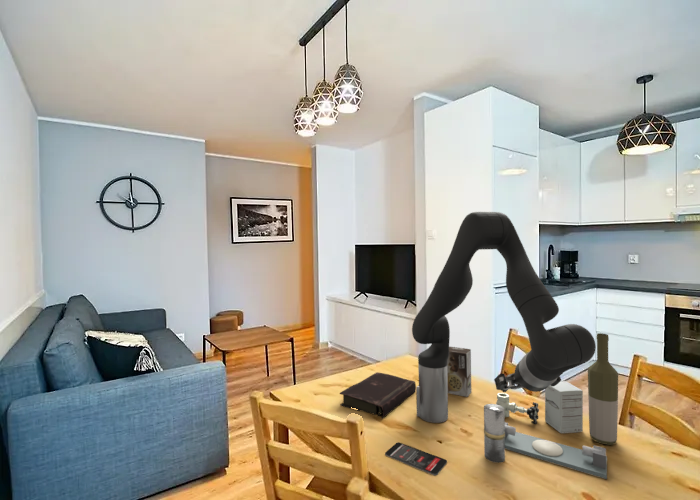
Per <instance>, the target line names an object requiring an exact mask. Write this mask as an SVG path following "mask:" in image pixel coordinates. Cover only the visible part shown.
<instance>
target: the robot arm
mask: <svg viewBox="0 0 700 500" xmlns="http://www.w3.org/2000/svg"><path fill="white" fill-rule="evenodd" d="M479 250H481V251H482V250H496V251H498V253H499V254H500V255H501V256H502V257H503V259H504V261H505V265H506V273H505V286H506V290H507V294H508V295H509V297H510V300H511V301H512V303H513V305H514V306H515V308H516V309H517V311H518V313H519V314H520V316H521V318H522V321H523V323H524V326H525V330H526V332H527V336H528V340H529V343H530V344H529V345H530V350H529V351H528V352H526V354H525V355H524V356H523V357H521V359H520V360H519V362H518V363H517V364H516V365H515V368H514V369H515V370H514V372H513V373H509V374H508V375H505V373H499V374H498V375H497V376H496V377H495V378H494V379H493V381H494V384H495V389H496V390H497V391H501V392H502V393H506V392H507V391H508V390H518V389H526V390H528V391H530V392H534V393H536V392H537V393H538V392H543V391H545V389H546V388H547V387H548V386H550V385H551V386H556V385H557V384H558V383H559V382H560V381H562V379H561V376H562V375H563V374H564V373H565V372H567V371H569V370H571V369H574V368H577V367H579V366H582V365H583V364H586V363H588V362H589V361H590V360H592V358H593V357H594V355H595V353H596V350H597V344H596V339H594V336H593V335H592V333H591V332H590V331H589V329H587V328H586V327H584V326H582V325H580V324H575V323H570V324H569V323H568V324H564V325H560V326H556V327H551V328H548V329H547V328H546V327H545V325H544V324H546V323H548V322H550V321H551V320H553V319H555V317H557V315H558V314H559V310H560V309H559V305H558V303H557V302H556V300H555V299H554V297H553V296H552V295H551V293H550V292H549V290H548V289H547V288H546V285H544V283H543V282H542V280H541V279H540V277H539V275H538V274H537V272H536V270H535V269H534V267H533V265H532V263H531V261H530V259H529V256H528V255H527V251H526V250H525V247H524V245H523V243H522V240H521V239H520V237H519V234H518V232H517V229H516V228H515V226H514V224H513V222H512V220H511V219H510V218H509V216H508V215H507V214H505V213H503V212H500V211H474V212H473V211H472V212H470V213H468V214H467V215H466V216H465V217H464V219H463V220H462V222H461V224H460V226H459V229H458V232H457V234H456V236H455V240H454V243H453V246H452V248H451V251H450V254H449V256H448V257H447V260H446V263H445V264H444V265H443V268H442V269H441V272H440V274H439V276H438V278H437V279H436V281H435V283H434V285H433V288H432V290H431V292H430V294H429V295H428V298H427V299H426V301H425V303H424V304H423V306H422V307H421V308H420V310H419V311H418V313H417V314H416V316H415V317H414V320H413V321H412V322H413V323H412V328H411V334H412V338H413V339H414V341H415V342H417V343H418V344H421V345H429V346H428V348H426V349H425V350H422V351H421V352H420V353H419V354H418V355H417V356H418V357H417V360H418V361H417V363H418V365H417V366H418V371H417V372H418V385H416V391H415V396H416V397H415V398H416V400H415V402H416V403H415V404H416V417H419V418H420V419H422V420H423V421H424V422H427V423H433V424H439V423H444V422H446V421H447V420H448V419H449V393H448V373H447V360H448V357H449V347H450V336H451V335H450V333H451V331H450V323H449V321H448V318H447V317H446V315H448V314H449V313H451V312H453V311H454V310H455V309H458V307H460V306H461V305H462V304H463V303H464V301H465V300H466V298H467V296H468V295H469V293H470V291H471V289H472V286H473V281H474V279H473V274H472V270H471V268H470V267H471V266H470V262H471V261H472V260H473V257H474V255H475V254H476V252H477V251H479Z"/></svg>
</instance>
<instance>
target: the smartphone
mask: <svg viewBox="0 0 700 500" xmlns="http://www.w3.org/2000/svg"><path fill="white" fill-rule="evenodd" d="M384 455H385V456H386V457H387V458H391V459H393V460H395V461H398V462H400V463H403V464H404V465H407V466H409V467H412V468H415V469H417V470H420V471H422V472H424V473H427V474H429V475H431V476H433V477H434V476H438V475H439V473H441V472H442V470H443V469H444V467H445V466H446V465H447V463H448V460H447V459H445V458H443V457H440V456H437V455H435V454H432V453H431V452H430V453H429V452H427V451H424V450H421V449H419V448H415V447H413V446H411V445H408V444H405V443H403V442H398V441H397V442H396V443H394V444H393V445H392V446H391V447H390V448H389V449H387V450H386V452H384Z"/></svg>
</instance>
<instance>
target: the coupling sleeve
mask: <svg viewBox="0 0 700 500" xmlns="http://www.w3.org/2000/svg"><path fill="white" fill-rule="evenodd" d="M505 418H506V417H505V416H504V408H503V407H502V406H500V405H496V403H487V404H484V406H483V436H484V437H483V438H484V439H483V440H484V441H483V443H484V444H483V445H484V458H485V459H486V460H488V461H489V462H492V463H494V464H495V463H496V464H501V463H504V462H505V461H506V449H505V422H506V421H505Z"/></svg>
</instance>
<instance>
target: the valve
mask: <svg viewBox="0 0 700 500" xmlns="http://www.w3.org/2000/svg"><path fill="white" fill-rule="evenodd" d="M496 399H497V400H496V402H495V404H496V405H500V406H502V407H503V408H504V416H505V418H509V417H510V413H513V414H515V413H516V412H518V413H520V414H525V413H526V415H527V416H528V418H529V419H530V420H531V421H530V423H531V425H537V424H538V421H537V420H538V419H539V415H538V414H539V412H540V408H539V403H538V402H532V405H531V406H530V407H528V408H525V407H524V406H518V405H517V403H516V402H510V395H509V394H507V393H506V392H498V393H496Z"/></svg>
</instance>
